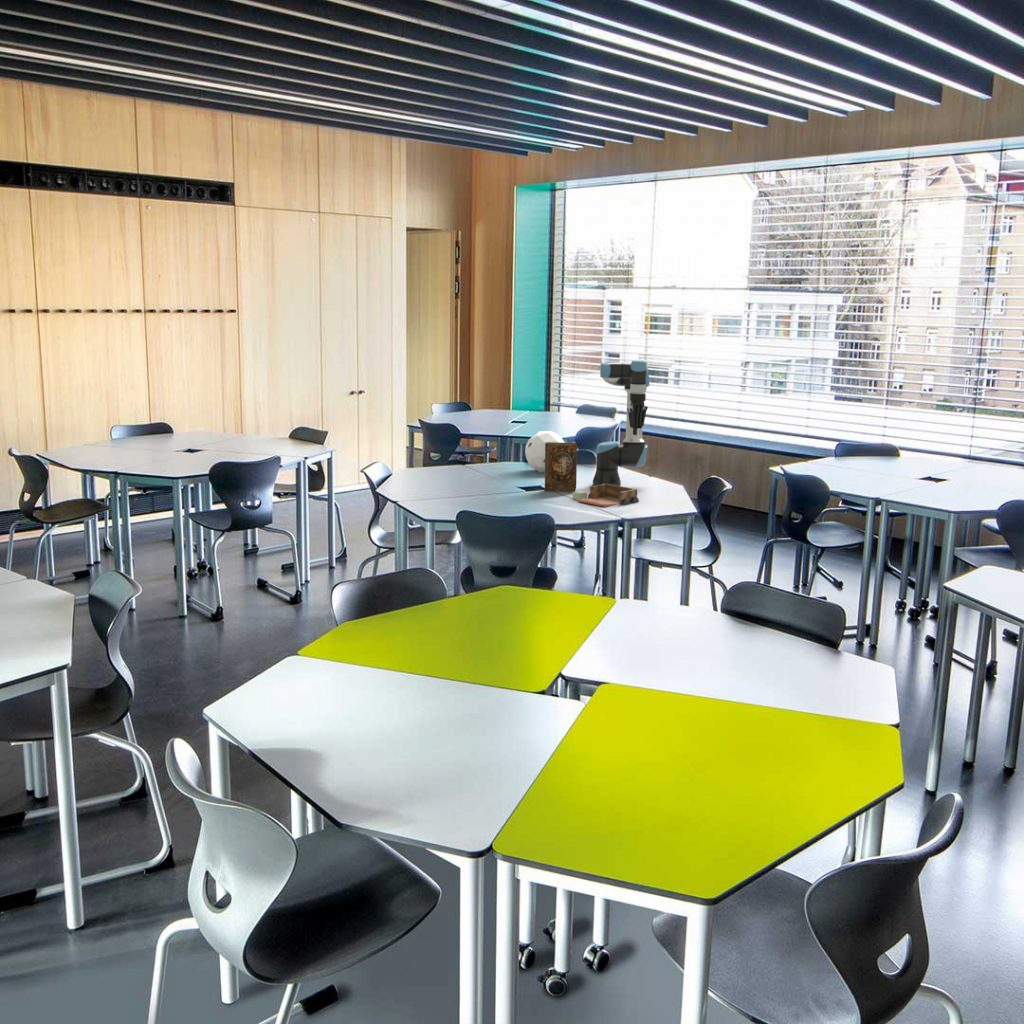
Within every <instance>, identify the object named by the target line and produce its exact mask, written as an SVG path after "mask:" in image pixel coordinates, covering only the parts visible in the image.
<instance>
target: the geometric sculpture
mask: <svg viewBox="0 0 1024 1024" xmlns="http://www.w3.org/2000/svg"><path fill="white" fill-rule="evenodd" d="M547 442H555V443H565V441H564V440H563V438H562V437H561V435H559V434H558V433H556V432H554V431H552V430H546V431H544V430H542V431H540V430H539V431H537V432H536V433H535V434H533V436H531V437H530V438H529V439H528V440H527V442H526V445H525V446H524V447H525V449H524V454H525V459H526V460H527V462H528V464H529V466H530V467H531V468H532V469H534V470H536V471H537V472H539V473H540V472H543V473H545V443H547Z"/></svg>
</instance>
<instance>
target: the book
mask: <svg viewBox="0 0 1024 1024" xmlns="http://www.w3.org/2000/svg"><path fill="white" fill-rule="evenodd" d="M577 463H578V444H577V442H564V443H555V442H547V443H545V472H544V492H546V493H547V492H552V493H553V492H557V493H573V492H575V491H577V490H576V489H577V473H578V471H577V468H578V467H577V466H578V464H577Z"/></svg>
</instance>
